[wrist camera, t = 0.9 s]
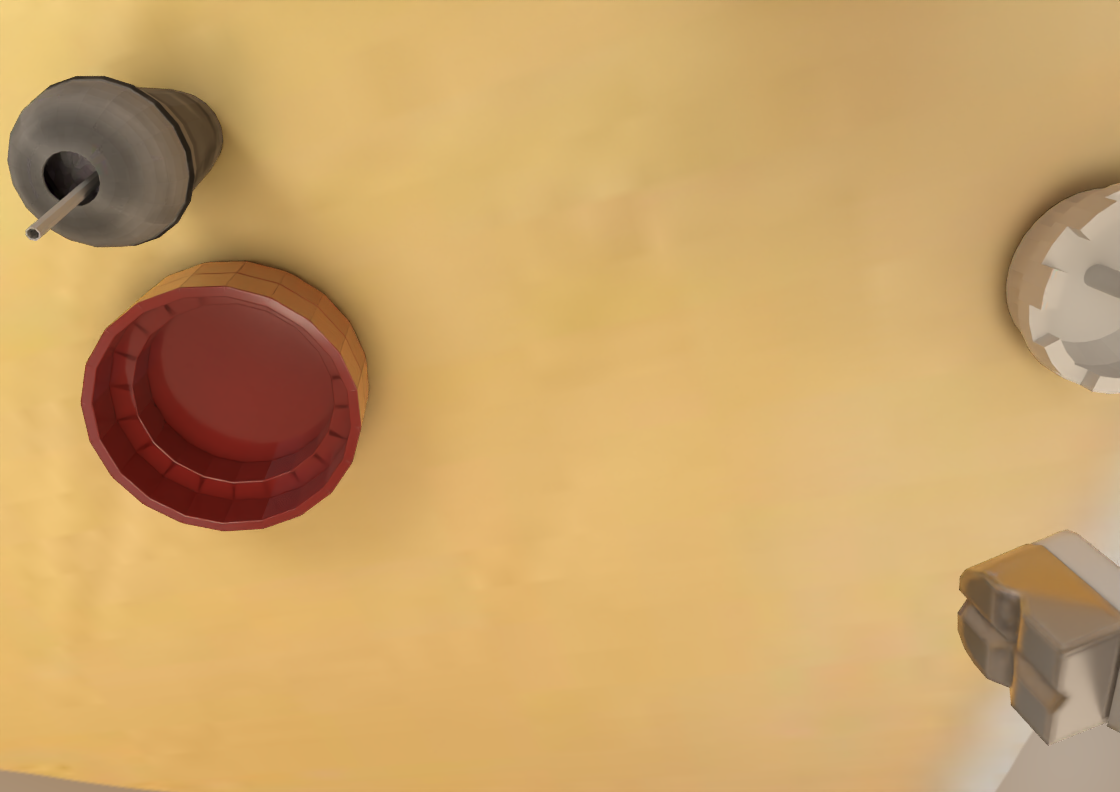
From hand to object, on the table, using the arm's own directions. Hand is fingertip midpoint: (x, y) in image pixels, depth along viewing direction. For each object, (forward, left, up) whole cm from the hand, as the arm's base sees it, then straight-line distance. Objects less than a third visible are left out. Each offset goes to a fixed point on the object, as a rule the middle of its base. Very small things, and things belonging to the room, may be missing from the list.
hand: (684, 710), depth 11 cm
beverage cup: (-3, -18, -44) cm, 48 cm away
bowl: (+12, -16, -44) cm, 48 cm away
